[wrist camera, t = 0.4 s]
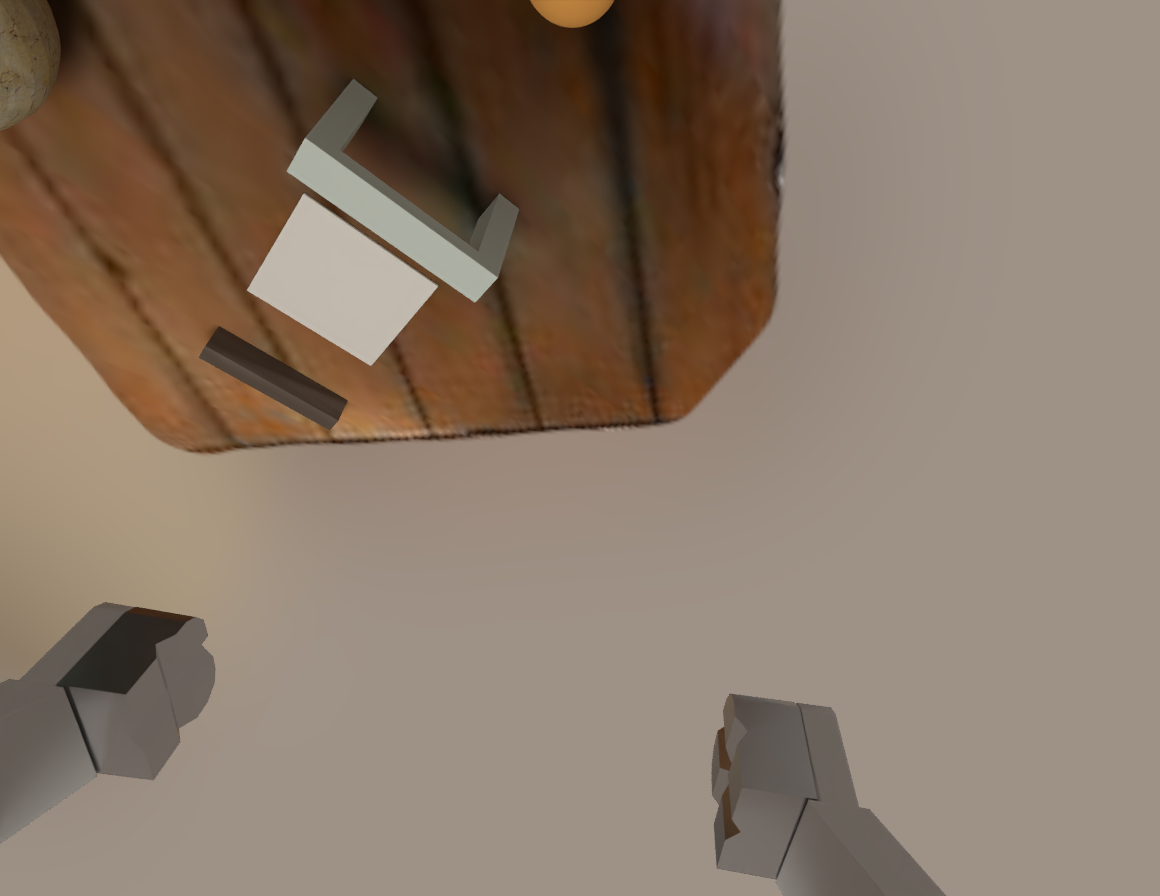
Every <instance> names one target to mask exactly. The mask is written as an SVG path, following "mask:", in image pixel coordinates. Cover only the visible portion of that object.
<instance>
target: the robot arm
mask: <svg viewBox="0 0 1160 896" xmlns="http://www.w3.org/2000/svg"><path fill="white" fill-rule="evenodd" d="M207 636H208V633H207V630H206V627H205V623H204V620H203V619H200V618H197V617H192V616H186V615H180V614H174V613H169V612H162V611H157V610H151V609H145V608H139V607H131V606H124V605H119V604H113V603H107V602H105V603H102V604H100V605H98V606H95V607H93V608H92V609H91V610H90V611H89V612H88V613H87V614H86V615H85V616H84V617H83V618H82V619H81V620H80V621H79V622H78V623H77V624H76V625H75V626H74V627H73V628H72V629H71V630H70V631H69V632H68V633H67V634H66V635H65V636H64V637H63V638H62V639H61V640H60V641H59V642H57V644H55V645H54V646H53V647H52V649H50V650H49V651H48V652H47V653H46V654H45V655H44V657H42V658H41V659H40V660H39V661H38V662H37V663H36V664H35V665H34V666H33V667H32V668H31V669H30V670H29V671H28V672H27V673H26V674H25V675H24V676H23V677H22V678H21V679H20V680H11V679H8V680H6V681H4V682H2V683H0V844H1V843H2V842H4V841H5V840H7V839H8V838H9V837H11V836H12V835H13V834H15V833H16V832H18V831H19V830H21V829H22V828H24V827H25V826H27V825H28V824H30V823H31V822H32V821H34V820H35V819H37V818H38V817H40V816H41V815H43V814H44V813H45V812H47V811H48V810H50V809H51V808H53V807H54V806H56V805H57V804H58V803H60V802H61V801H62V800H64V799H66V798H67V797H68V796H70V795H71V794H73V793H74V792H75V791H77V790H79V789H80V788H81V787H83V786H84V785H86V784H87V783H89V782H90V781H91V780H93V779H94V778H96V777H97V773H101V774H108V775H116V776H124V777H132V778H140V779H148V780H154V779H155V777H156V776H157V775H158V773H159V772H160V770H161V769H162V767H163V766H164V765H165V763H166V762H167V760H168V759H169V757H170V756H171V755H172V753H173V752H174V750H175V749H176V747H177V746H178V745H179V743H180V736H179V728H180V727H182V726H184V725H185V724H187V723H189V722H190V721H192V720H194V719H196V718H197V717H198V715H199V714H200V712H201V711H202V710H203V708H204V706H205V705H206V703H207V702H208V699H209V697H210V694H211V691H212V688H213V685H214V682H215V664H214V659H213V656H212V655H211V654H210V653H209V652H208V651H207V650H206V649H205V648H204V647H203V646H202V645H201V644H202V643H203V642H204V641H205V639H206V638H207ZM723 715H724V727H723V728H721V729H720V730H718V732H717V736H716V740H715V745H714V751H713V759H712V796H713V797H714V799H715V800H716V801H717V803H718V804H719V808H718V811H717V815H716V818H715V822H714V832H715V849H716V862H717V869H722V870H728V871H734V872H739V873H744V874H749V875H755V876H760V877H766V878H771V879H776V880H777V881H776V884H777V886H778V887H779V889H780V891H781V892H782V894H783V896H946V895H945V894H944V893H943V892H942V891H941V889H940V888H939V887H938V886H937V885H936V884H935V883H934V882H933V881H932V879H931V878H930V877H929V876H928V875H927V874H926V873H925V871H924V870H923V869H922V868H921V867H920V866H919V865H918V864H917V862H916V861H915V860H914V859H913V858H912V857H911V855H910V854H909V853H908V852H907V851H906V850H905V849H904V848H903V847H902V845H901V844H900V843H899V842H898V841H897V840H896V839H895V838H894V836H893V835H892V834H891V833H890V832H889V831H888V829H887V828H886V827H885V826H884V825H883V824H882V823H881V822H880V821H879V819H878V818H877V817H876V816H875V815H874V814H873V813H872V812H871V810H870V809H865V808H860V807H859V806H858V801H857V797H856V793H855V790H854V786H853V782H852V778H851V774H850V770H849V766H848V762H847V758H846V754H845V750H844V746H843V742H842V738H841V734H840V730H839V726H838V722H837V718H836V714H835V713H834V711H833V710H832V708H831V707H823V706H816V705H809V704H802V703H796V704H795V703H794V702H789V701H781V700H774V699H766V698H759V697H751V696H744V695H736V694H729V696H728V697H727V699H726V703H725V706H724V709H723Z"/></svg>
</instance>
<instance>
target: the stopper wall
mask: <svg viewBox="0 0 1160 896" xmlns="http://www.w3.org/2000/svg"><path fill="white" fill-rule="evenodd" d="M199 358H201V359H202V360H204V361H206V362H208V363H210V364H211V365H213V366H215V367H217V368H219V369H220V370H222V371H224V372H226V373H228V374H229V375H231V376H233V377H235V378H237V379H238V380H240V381H242V382H244V383H246V384H248V385H249V386H251V387H253V388H255V389H257V390H258V391H260V392H262V393H264V394H266V395H267V396H269V397H271V398H273V399H275V400H276V401H278V402H280V403H282V404H284V405H285V406H287V407H289V408H291V409H293V410H294V411H296V412H298V413H300V414H302V415H303V416H305V417H307V418H309V419H311V420H312V421H314V422H316V423H318V424H320V425H321V426H323V427H325V428H327V429H329V430H331V428H332V427H333V426H334V425H335V424H336V423H337V421H338V420H339V418H340V416H341V414H342V411H343V409H344V407H345V405H346V403H347V400H345V399H344V398H342V397H340V396H338V395H337V394H335V393H333V392H332V391H330V390H328V389H326V388H325V387H323V386H321V385H319V384H318V383H316V382H314V381H313V380H311V379H309V378H307V377H306V376H304V375H302V374H300V373H299V372H297V371H295V370H294V369H292V368H290V367H288V366H287V365H285V364H283V363H281V362H280V361H278V360H276V359H275V358H273V357H271V356H269V355H268V354H266V353H264V352H262V351H261V350H259V349H257V348H256V347H254V346H252V345H250V344H249V343H247V342H245V341H243V340H242V339H240V338H238V337H237V336H235V335H233V334H231V333H230V332H228V331H226V330H224V329H223V328H221V327H219V328H218V329H217V330H216V332H215V333H214V335H213V336H212V337H211V339H210V340H209V342H208V343H207V344H206V346H205V348H204V349H203V351H202V353H201V354H200V356H199Z"/></svg>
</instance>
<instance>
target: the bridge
mask: <svg viewBox="0 0 1160 896" xmlns="http://www.w3.org/2000/svg"><path fill="white" fill-rule="evenodd" d="M376 100H377V97H376V96H375V95H373V94H372V93H371V92H370V91H368V90H367V89H366V88H364V87H363V86H362V85H361V84H359V83H358V82H357V81H356V80H354V79H353V80H352V81H351V82H350V83H349V85H348V86H347V87H346V88H345V90H344V91H343V92H342V93H341V95H340V96H339V97H338V98H337V99H336V101H335V102H334V103H333V104H332V106H331V107H330V108H329V109H328V111H327V112H326V113H325V114H324V115H323V117H322V118H321V119H320V120H319V122H318V123H317V124H316V125H315V126H314V128H313V129H312V130H311V131H310V133H309V134H308V135H307V136H306V138H305V139H304V141H303V143H302V145H301V146H300V148H299V150H298V152H297V154H296V156H295V157H294V159H293V161H292V163H291V165H290V166H289V168H288V170H287V172H288V173H290V174H291V175H293V176H294V177H295V178H297V179H298V180H300V181H301V182H303V183H304V184H306V185H307V186H308V187H310V188H311V189H313V190H314V191H316V192H317V193H318V194H320V195H321V196H323V197H324V198H326V199H327V200H328V201H330V202H331V203H333V204H334V205H336V206H337V207H339V208H340V209H341V210H343V211H344V212H346V213H347V214H349V215H350V216H351V217H353V218H354V219H356V220H357V221H359V222H360V223H362V224H363V225H364V226H366V227H367V228H369V229H370V230H372V231H373V232H374V233H376V234H377V235H379V236H380V237H382V238H383V239H384V240H386V241H387V242H389V243H390V244H392V245H393V246H395V247H396V248H397V249H399V250H400V251H402V252H403V253H405V254H406V255H407V256H409V257H410V258H412V259H413V260H415V261H416V262H417V263H419V264H420V265H422V266H423V267H425V268H426V269H428V270H429V271H430V272H432V273H433V274H435V275H436V276H438V277H439V278H440V279H442V280H443V281H445V282H446V283H448V284H449V285H451V286H452V287H453V288H455V289H456V290H458V291H459V292H461V293H462V294H463V295H465V296H466V297H468V298H469V299H471V300H472V301H473V302H476V301H477V300H478V299H479V298H480V297H481V295H482V294H483V293H484V292H485V291H486V290H487V289H488V288H489V287H490V286H491V285H492V283H493V282H494V281H495V280H496V279H497V278H498V276H499V272H500V269H501V266H502V263H503V260H504V256H505V253H506V250H507V247H508V244H509V241H510V237H511V234H512V231H513V228H514V225H515V222H516V218H517V215H518V212H519V208H517V207H516V206H515V205H514V204H512V203H511V202H510V201H508V200H507V199H506V198H505V197H503V196H502V195H501V194H500V193H499V194H498V196H497V197H496V198H495V199H494V200H493V202H492V203H491V204H490V205H489V206H488V208H487V209H486V210H485V211H484V213H483V214H482V215H481V216H480V217H479V219H478V221H477V224H476V227H475V229H474V232H473V234H472V237H471V240H470V242H469V244H467V243H466V242H464V241H463V240H462V239H460V238H459V237H458V236H456V235H455V234H454V233H452V232H451V231H449V230H448V229H447V228H445V227H444V226H443V225H441V224H440V223H439V222H437V221H436V220H434V219H433V218H432V217H430V216H429V215H428V214H426V213H425V212H424V211H422V210H421V209H419V208H418V207H417V206H415V205H414V204H413V203H411V202H410V201H409V200H407V199H406V198H404V197H403V196H402V195H400V194H399V193H398V192H396V191H395V190H394V189H392V188H391V187H389V186H388V185H387V184H385V183H384V182H383V181H381V180H380V179H378V178H377V177H376V176H374V175H373V174H372V173H370V172H369V171H368V170H366V169H365V168H363V167H362V166H361V165H359V164H358V163H357V162H355V161H354V160H353V159H351V158H350V157H348V156H347V155H346V154H344V153H343V150H344V149H345V148H346V146H347V145H348V143H349V142H350V141H351V139H352V138H353V136H354V135H355V134H356V132H357V131H358V129H359V128H360V126H361V125H362V123H363V121H364V120H365V118H366V116H367V115H368V113H369V111H370V110H371V108H372V106H373V105H374V103H375V102H376Z"/></svg>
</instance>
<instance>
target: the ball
mask: <svg viewBox="0 0 1160 896" xmlns="http://www.w3.org/2000/svg"><path fill="white" fill-rule="evenodd" d="M530 1H531V3H532V4H533V6H534V7H535V8H536V10H537V11H538V12H539V13H540V14H541V15H542V16H543V17H545V18H546V19H547V20H549V21H550V22H552V23H554V24H557V25H559V26H563V27H569V28H576V27H582V26H585V25H588V24H590V23H593V22H594V21H596V20H597V19H599V18H600V17H601V16H602V15H603V14H605V12H606V11H607V10H608V9H609V8H610V6H611V5H612V3H613V1H614V0H530Z"/></svg>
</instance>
